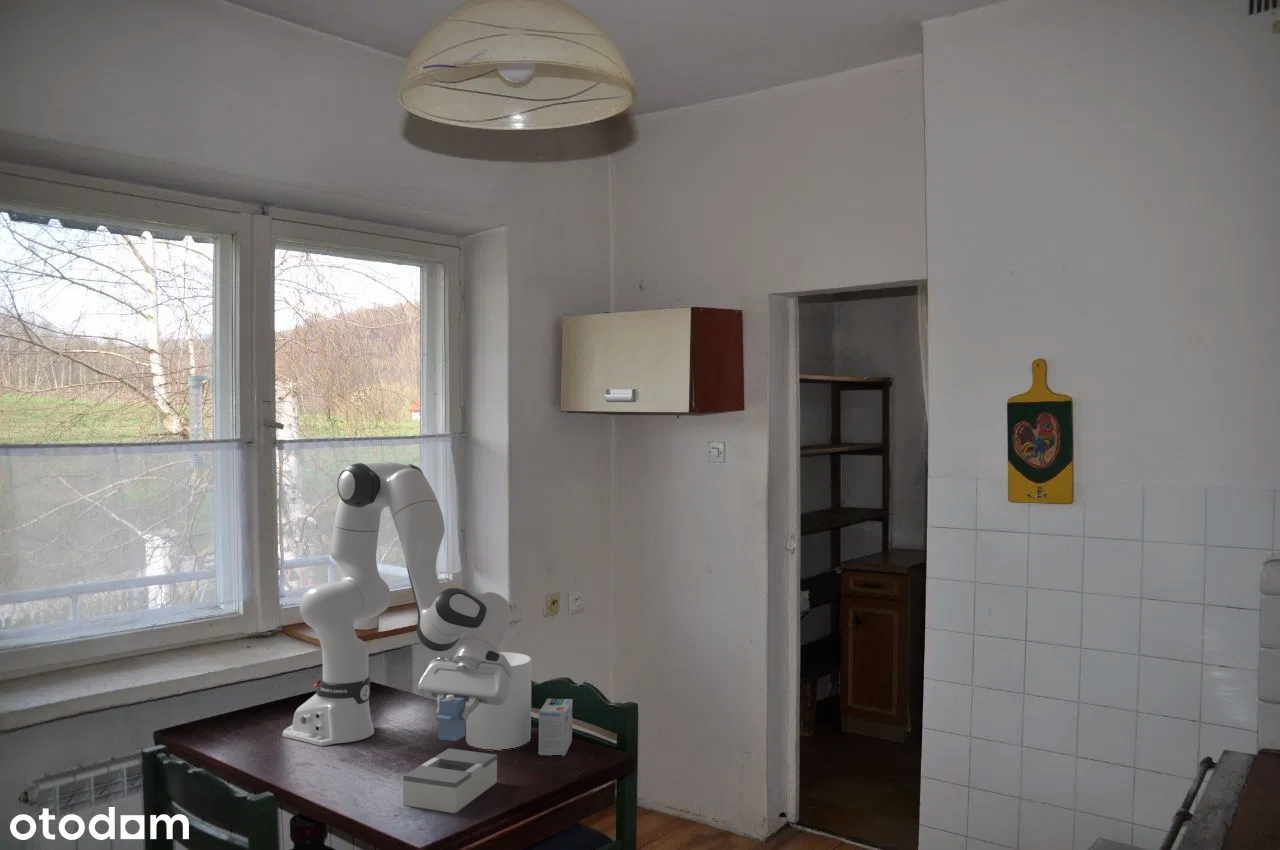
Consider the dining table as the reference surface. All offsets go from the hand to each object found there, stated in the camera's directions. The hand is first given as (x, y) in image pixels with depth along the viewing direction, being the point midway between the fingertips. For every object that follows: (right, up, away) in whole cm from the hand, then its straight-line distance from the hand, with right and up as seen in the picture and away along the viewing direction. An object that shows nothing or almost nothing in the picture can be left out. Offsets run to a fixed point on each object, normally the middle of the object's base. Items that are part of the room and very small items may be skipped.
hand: (451, 717), depth 197 cm
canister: (+5, -17, +36) cm, 40 cm away
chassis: (0, -16, 0) cm, 16 cm away
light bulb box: (+19, -17, +30) cm, 39 cm away
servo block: (0, -4, +1) cm, 4 cm away
